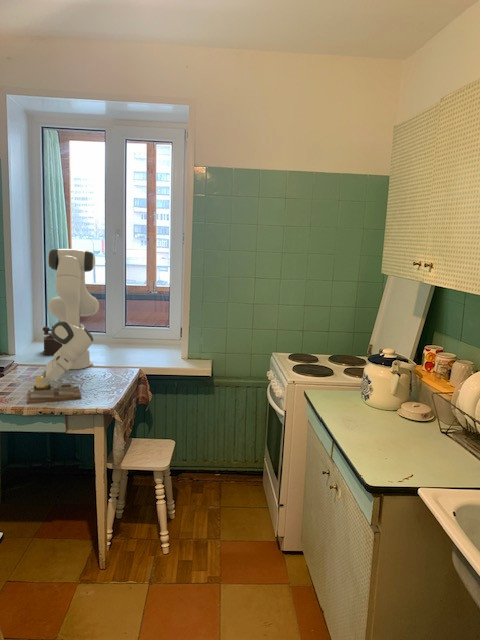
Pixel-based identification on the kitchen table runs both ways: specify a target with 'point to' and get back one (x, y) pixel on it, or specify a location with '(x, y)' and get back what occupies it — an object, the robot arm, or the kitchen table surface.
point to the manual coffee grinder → (50, 343)
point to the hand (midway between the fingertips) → (40, 381)
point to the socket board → (54, 393)
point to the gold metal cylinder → (38, 380)
